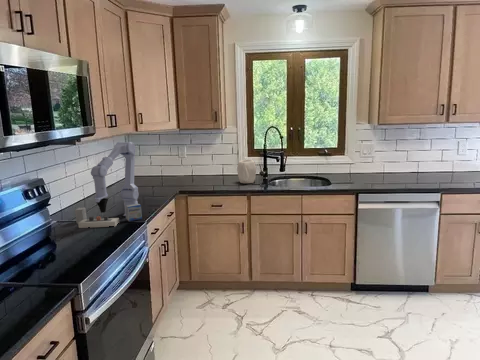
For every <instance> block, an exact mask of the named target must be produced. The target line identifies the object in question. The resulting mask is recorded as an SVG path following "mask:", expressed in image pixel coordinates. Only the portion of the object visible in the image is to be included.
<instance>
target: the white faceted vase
mask: <svg viewBox="0 0 480 360" xmlns="http://www.w3.org/2000/svg"><path fill="white" fill-rule="evenodd" d="M236 168H237V169H236V171H237V177H238V181H239V183H241V184H253V183H254V182H255V181H256V174H257V166H256V163H255V161H254V160H253V159H241V160H239V161H238V164H237V167H236Z"/></svg>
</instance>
